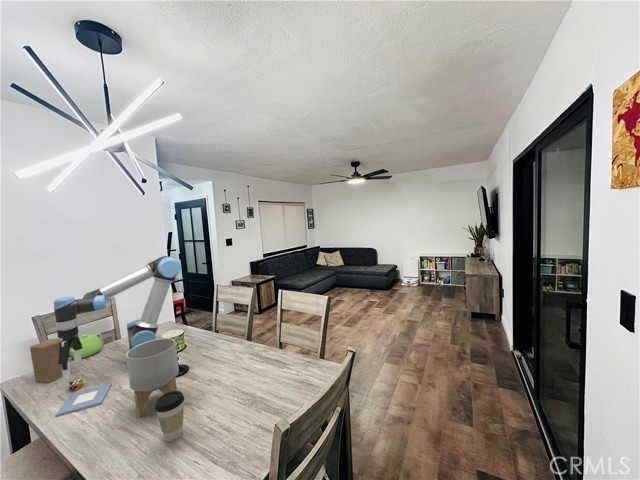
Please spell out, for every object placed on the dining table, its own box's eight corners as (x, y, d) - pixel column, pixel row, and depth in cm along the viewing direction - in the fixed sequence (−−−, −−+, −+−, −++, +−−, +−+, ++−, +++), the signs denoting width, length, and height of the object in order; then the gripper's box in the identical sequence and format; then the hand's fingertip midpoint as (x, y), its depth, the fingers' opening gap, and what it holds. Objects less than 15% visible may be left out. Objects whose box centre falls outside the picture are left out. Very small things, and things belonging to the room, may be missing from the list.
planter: (190, 392, 126) (184, 340, 124) (154, 421, 108) (147, 361, 106) (161, 386, 132) (155, 336, 130) (122, 413, 114) (115, 356, 112)
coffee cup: (166, 426, 105) (162, 391, 104) (192, 423, 106) (188, 388, 105) (153, 447, 96) (148, 408, 94) (181, 443, 96) (176, 405, 95)
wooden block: (49, 383, 140) (43, 347, 139) (35, 382, 142) (29, 346, 141) (70, 372, 150) (65, 338, 148) (56, 371, 152) (51, 338, 150)
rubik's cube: (69, 391, 133) (66, 383, 132) (81, 384, 138) (77, 376, 136) (74, 393, 132) (70, 384, 130) (85, 385, 136) (82, 377, 135)
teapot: (72, 366, 157) (68, 345, 156) (56, 362, 162) (53, 342, 161) (111, 348, 178) (108, 329, 177) (96, 345, 183) (94, 327, 182)
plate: (111, 384, 135) (111, 382, 135) (101, 404, 121) (101, 401, 121) (71, 395, 129) (71, 393, 129) (55, 417, 114) (55, 414, 114)
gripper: (68, 321, 141) (73, 359, 143) (44, 339, 119) (50, 384, 120) (86, 318, 144) (91, 355, 146) (66, 335, 122) (71, 379, 123)
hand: (72, 368), depth 133 cm, fingers open, 13 cm apart
